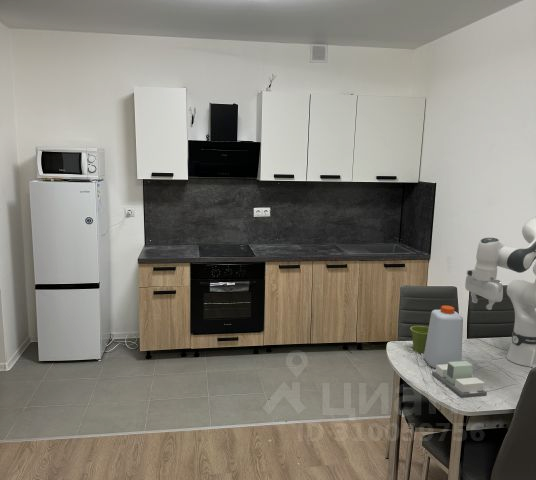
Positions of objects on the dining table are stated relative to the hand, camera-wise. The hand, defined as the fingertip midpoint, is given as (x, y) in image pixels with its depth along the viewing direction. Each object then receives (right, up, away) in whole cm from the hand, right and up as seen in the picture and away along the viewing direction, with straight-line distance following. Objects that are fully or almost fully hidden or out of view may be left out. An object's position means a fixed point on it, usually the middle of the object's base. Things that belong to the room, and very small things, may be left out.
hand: (481, 305), depth 208 cm
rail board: (-12, -34, -3) cm, 36 cm away
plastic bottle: (-11, -30, +19) cm, 37 cm away
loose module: (-11, -32, -3) cm, 34 cm away
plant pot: (-16, -28, +33) cm, 46 cm away
